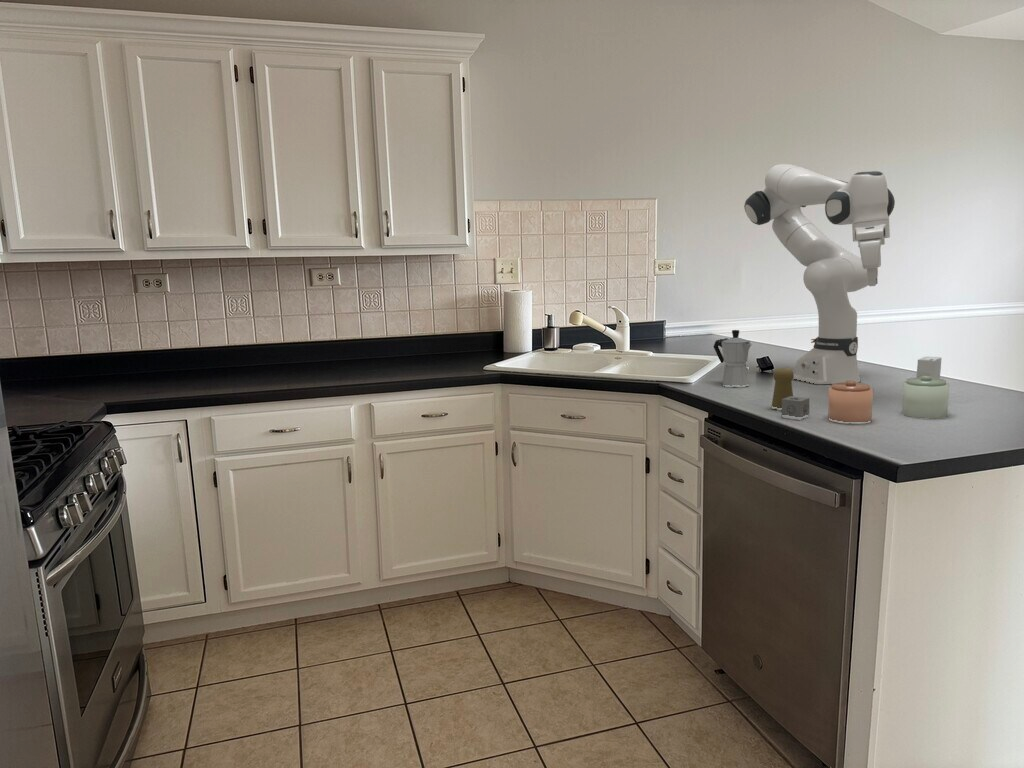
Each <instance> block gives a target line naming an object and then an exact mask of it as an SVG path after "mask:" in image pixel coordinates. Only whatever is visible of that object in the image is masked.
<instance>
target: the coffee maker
mask: <svg viewBox="0 0 1024 768" xmlns="http://www.w3.org/2000/svg"><path fill="white" fill-rule="evenodd" d="M731 333H732V337H730V338H726V337H725V338H720V339H716V340H715V341H714V344H713V349H714V351H715V354H716V355H717V357H718V360H719V362H720V363H721V364H722V363H725V365H724V370H723V376H722V380H721V381H722V383H723V385H730V386H732V385H740V386H742V385H747V384H749V383H750V382H749V377H748V370H747V364H746V362H747V361H748V358H749V357H748V356H749V353H750V352H749V350H750V348H751V346H753V344H752V343H751V340H749V339H745V338H742V337H739V335H740V330H738V329H733V330H731ZM719 347H720V348H721V349H722V352H721V350H720V348H719ZM722 383H721V384H722ZM749 385H750V384H749Z"/></svg>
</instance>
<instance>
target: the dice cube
mask: <svg viewBox="0 0 1024 768" xmlns="http://www.w3.org/2000/svg"><path fill="white" fill-rule="evenodd" d="M808 414H809V415H810V397H804V396H803V397H802V396H795V395H793V396H789V397H787V398H784V399H782V411H781V416H782V415H789V416H795V417H803V416H805V415H808Z"/></svg>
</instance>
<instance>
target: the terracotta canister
mask: <svg viewBox="0 0 1024 768" xmlns="http://www.w3.org/2000/svg"><path fill="white" fill-rule="evenodd" d="M827 397H828V402H827V403H828V404H827V407H828V408H827V419H828V418H830V419H832V420H837V421H843V422H868V421H871V420H872V421H873V403H874V402H873V400H874V399H873V397H874V388H873V387H872V386H870V384H868V383H865V382H864V383H862V382H857V383H856V381H846V382H842V383H834V384H831V385H830V386H829V387H828V396H827Z"/></svg>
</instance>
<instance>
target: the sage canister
mask: <svg viewBox="0 0 1024 768" xmlns="http://www.w3.org/2000/svg"><path fill="white" fill-rule="evenodd" d="M949 395H950V383H948V382H947V380H946V379H944V378H943V379H942V378H940V379H938V378H932V376H921V377H918V378H916V377H910V378H907V379H906V381H903V384H902V403H901V404H902V407H901V408H902V409H901V414H902V415H903V414H904V415H903V416H905V415H906V416H905V417H908V416H910V417H909V418H913V417H915V418H914V419H921V418H929V419H928V420H938V419H937V418H940V419H945V418H947V417H948V413H949V398H950V397H949Z"/></svg>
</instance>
